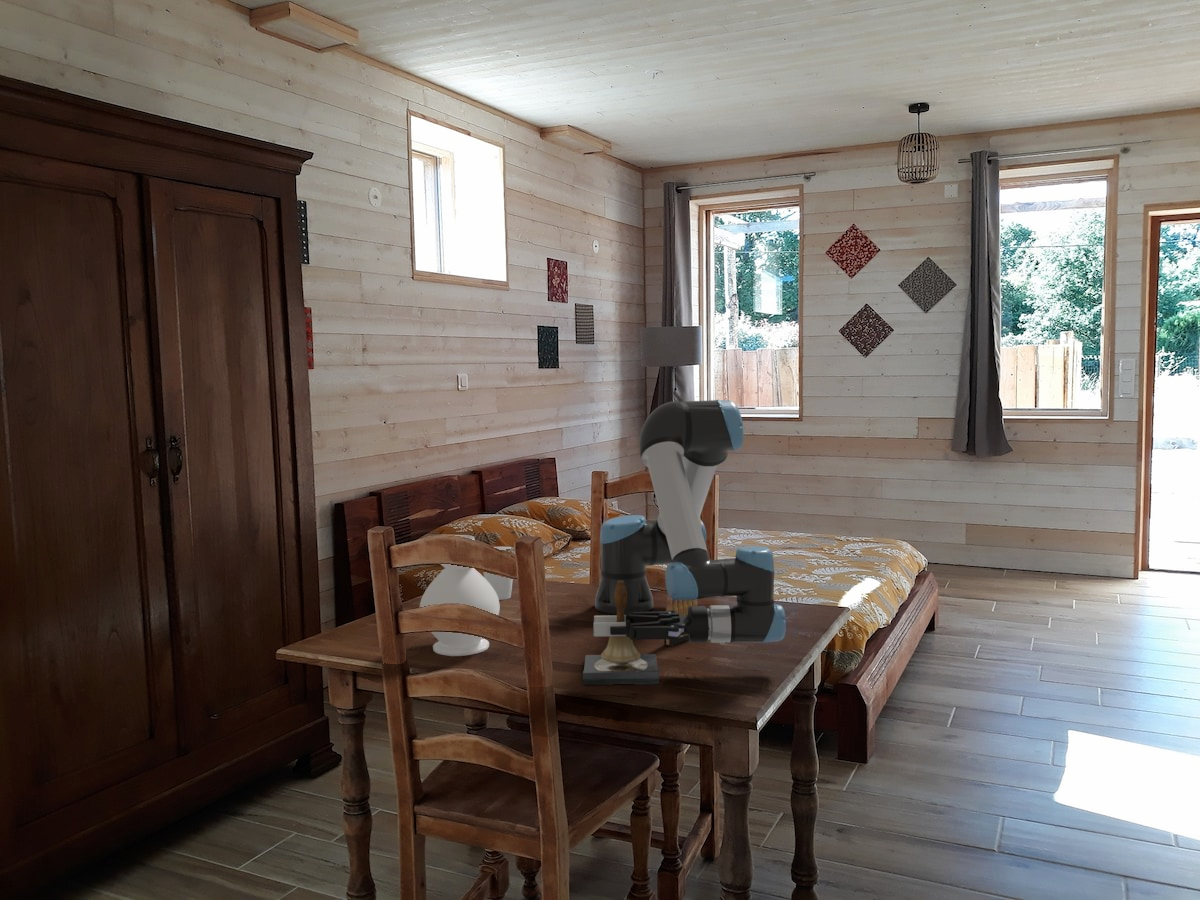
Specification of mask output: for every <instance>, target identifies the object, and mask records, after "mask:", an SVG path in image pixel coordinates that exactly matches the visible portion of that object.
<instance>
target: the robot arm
mask: <svg viewBox="0 0 1200 900" xmlns="http://www.w3.org/2000/svg"><path fill="white" fill-rule="evenodd" d="M743 423H744V422H743V419H742V415H741V412H740V409H739V407H738V405H736V402H735V403H734V402H733V401H731V400H725V399H724V400H720V399H713V400H692V401H691V400H689V401H688V400H687V401H676V400H674V401H669V402H665V403H663V404H661V405H659V406H658V407H656V408H655V409H654V410H653V411H652V412H651V413H650V414H648V416H647V418H646V420H645V422H644V423H643V425H642V428H641V430H640V434H639V440H638V448H639V449H638V451H639V455H640V459H641V462H642V465H644V466H645V467H647V468H648V472H649V476H650V481H651V483H652V487H653V491H654V495H655V499H656V503H657V506H658V510H659V511H658V512H659V514H658V515H657V519H650V520H647V519H646V517H645V516H644V515H641V514H632V515H630V514H629V515H628V514H627V515H621V516H616V517H612V518H610V519H607V520H606V521H604V522H602V524H601V527H600V534H599V536H600V537H599V543H600V580H599V585H598V588H597V591H596V594H595V597H594V598H595V599H594V608H595V610H597V611H598V612H602V613H604V614H607V615H594V616H593V637H609V636H627V637H630V639H631V640H633V641H636V640H637V641H638V640H643V641H644V640H656V641H657V640H664V639H668V640H679V636H680V635H687V634H688V635H689V640H688V641H689V642H690V644H707V642H708V641H709V642H710V643H713V644H714V643H715V644H716V643H719V644H720V645H721V646H724V645H725V643H759V644H764V643H775V642H780V641H783V639H784V638H785V635H786V629H787V628H786V625H787V624H786V623H787V621H786V612H785V609H784V607H783V606H782V605H780V604H777V603H775V601H774V597H775V596H774V595H775V593H774V592H775V591H774V590H775V589H774V586H775V584H774V583H775V564H774V563H775V561H774V553H773V551H772V550H771V549H770V548H768V547H765V546H758V545H747V546H741V547H739V548H737V550H736V553H735V558H724V559H723V558H722V559H710V555H709V553H708V549H707V545H706V544H707V543H706V541H707V531H706V526H705V524H704V522H703V521H702V519H701V515H702V512H703V508H704V505H705V502H706V500H707V497H708V493H709V491H710V488H711V485H712V482H713V479H714V476H715V473H716V469H717V467H719V466H720V465H722V464H723V463H724V462H725V461H726V460H727V457H728V455H729V452H730V451H732V452H736V451H739V450H740V449H741V448H742V446H743V444H744V425H743ZM663 565H667V566H666V568H665V572H664V573H665V574H664V580H665V589H666V592H667V595H668V594H669V596H670V597H671V598H672V599H674V600H695V599H696V600H700V599H703V600H704V599H711V598H712V599H713V598H727V597H736V605H735V604H734V605H731V604H730V605H729V604H723V605H721V604H720V605H719V604H717V605H716V604H714V605H709V606H708V608H707V607H706V605H697V606H690V607H689V608H688V615H679V613H675V611H674V610H670V611H666V610H664V611H663V610H662V611H661V610H659V611H650V610H652V609H653V608H654V597H653V594H652V591H651V588H650V585H649V582H648V579H647V567H649V566H663ZM618 580H623V581H624V585H625V588H626V591H627V602H626V606H625V610H624V616H625V622H617V609H616V605H615V600H614V592H615V588H616V585H617V581H618ZM610 614H612V615H610Z"/></svg>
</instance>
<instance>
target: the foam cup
mask: <svg viewBox="0 0 1200 900" xmlns="http://www.w3.org/2000/svg"><path fill="white" fill-rule="evenodd" d="M493 547H494V548H497V549H499V550H506V549H511V548H512V547H510V546H493ZM482 573H483V577H484V578H485V579H486V580H487V581H488V582H489V583H490V585H491V586H492V587H493V589H494V590H495V592H496V594H497V596H498V599H499V601H502V600H503V601H504V600H508V599H510V598H511V596H512V589H513V582H514V581H513V579H514V578H513V579H510V578H506V577H501V576H498V575H494V574H490V573H487V572H483V571H482Z"/></svg>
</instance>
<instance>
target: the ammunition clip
mask: <svg viewBox="0 0 1200 900" xmlns="http://www.w3.org/2000/svg"><path fill="white" fill-rule="evenodd" d="M697 600H698V599H695V600H674V599H672V598H671V597H670V596H669V594H668V593H667V597H666V608H665V609H666V610H665V611H670V610H674V611H675V613H679V615H688V608H689V607H690V606H698V602H697ZM663 640H664V641H663V645H664V646H667V645H668V647H673V646H672V645H674V646H676V645H679V644H681V643H680V642H682V643H684V642H687V641H689V635H688V634H687V635H680V636H679V640H668V639H663ZM686 640H687V641H686ZM683 641H684V642H683ZM678 643H679V644H678ZM675 644H676V645H675Z"/></svg>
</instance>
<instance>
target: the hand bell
mask: <svg viewBox="0 0 1200 900" xmlns="http://www.w3.org/2000/svg"><path fill="white" fill-rule="evenodd" d="M614 600H615V605H616V609H617V614H616V615H617V622H625V617H626V615H625V614H624V610H625V606H626V602H627V591H626V588H625V585H624V581H623V580H618V581H617V585H616V588H615V592H614ZM624 615H625V616H624ZM633 641H634V640H631V639H630V637H627V636H608V642H607V646H606V647H605V649H604V650H603V651H602V652H601V654H600V655H601V658H602V659H603V660H606V661H609V662H615V663H626V662H633V661H636V660H638V659H640V658H641V653H640V651H639V650H638V649H637V648H636V646H635V645H634V642H633Z"/></svg>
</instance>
